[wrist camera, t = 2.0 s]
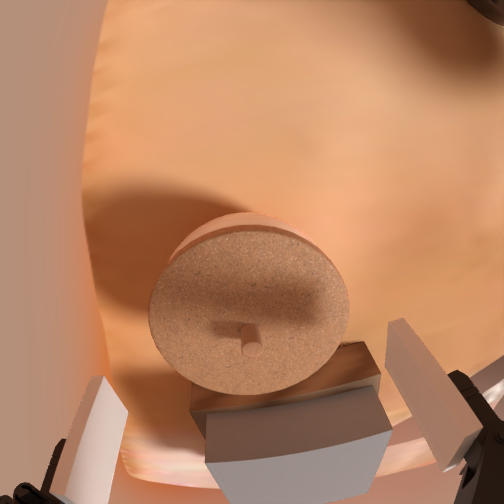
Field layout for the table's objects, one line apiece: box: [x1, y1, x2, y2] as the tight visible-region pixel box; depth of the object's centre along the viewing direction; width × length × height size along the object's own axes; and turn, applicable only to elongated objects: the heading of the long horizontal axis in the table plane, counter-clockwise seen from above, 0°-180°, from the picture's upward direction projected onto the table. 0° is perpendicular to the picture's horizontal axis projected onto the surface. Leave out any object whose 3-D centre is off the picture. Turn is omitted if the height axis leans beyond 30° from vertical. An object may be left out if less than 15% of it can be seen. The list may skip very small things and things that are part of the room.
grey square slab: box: [205, 385, 393, 504], centre depth 24 cm, size 14×14×5 cm
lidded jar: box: [148, 212, 349, 395], centre depth 19 cm, size 11×11×9 cm
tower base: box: [190, 341, 381, 440], centre depth 28 cm, size 16×16×5 cm
